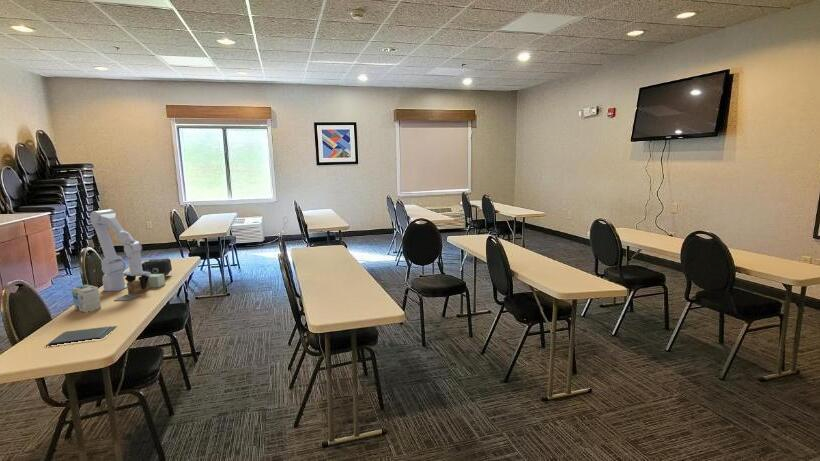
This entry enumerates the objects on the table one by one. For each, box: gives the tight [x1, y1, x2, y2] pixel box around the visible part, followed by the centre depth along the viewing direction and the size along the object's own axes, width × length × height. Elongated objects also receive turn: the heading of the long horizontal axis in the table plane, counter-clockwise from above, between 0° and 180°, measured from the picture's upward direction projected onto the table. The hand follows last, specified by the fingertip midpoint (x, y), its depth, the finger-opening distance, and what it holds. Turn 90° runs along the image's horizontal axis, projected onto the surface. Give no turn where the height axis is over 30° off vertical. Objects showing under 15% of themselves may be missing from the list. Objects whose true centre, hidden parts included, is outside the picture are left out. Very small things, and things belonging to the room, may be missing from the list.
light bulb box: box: [71, 284, 102, 313], centre depth 196 cm, size 11×7×11 cm, turn 62°
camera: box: [142, 258, 173, 277], centre depth 247 cm, size 11×11×15 cm
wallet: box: [45, 325, 118, 347], centre depth 166 cm, size 20×2×15 cm
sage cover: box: [148, 274, 166, 288], centre depth 231 cm, size 5×9×6 cm, turn 85°
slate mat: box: [113, 294, 141, 302], centre depth 211 cm, size 8×8×1 cm
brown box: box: [126, 277, 151, 295], centre depth 222 cm, size 5×9×6 cm, turn 175°
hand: (139, 288), depth 222 cm, fingers closed on brown box, 5 cm apart
